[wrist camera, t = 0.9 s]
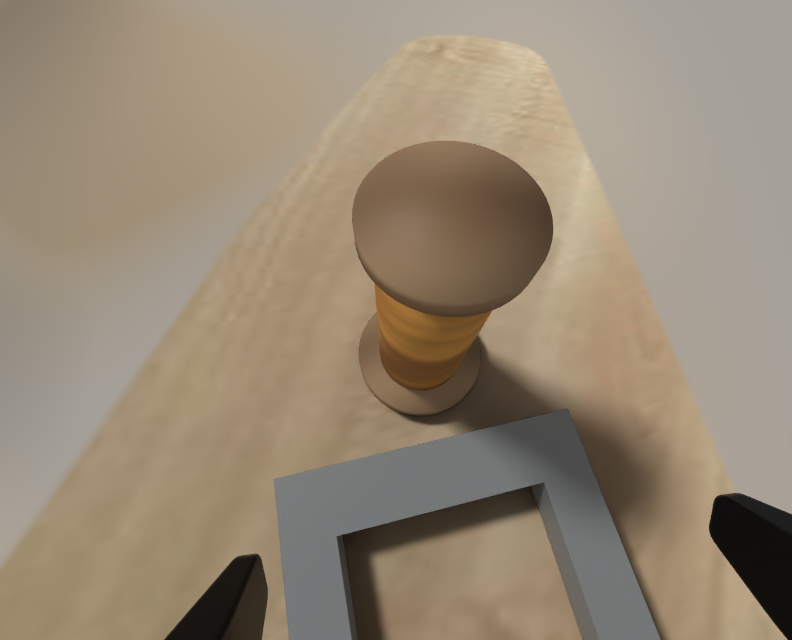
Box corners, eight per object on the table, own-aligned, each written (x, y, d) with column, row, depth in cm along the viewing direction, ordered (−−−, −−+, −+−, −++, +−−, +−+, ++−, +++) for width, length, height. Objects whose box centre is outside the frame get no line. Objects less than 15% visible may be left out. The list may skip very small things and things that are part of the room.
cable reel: (493, 400, 22) (623, 299, 10) (372, 428, 21) (351, 357, 9) (458, 293, 24) (525, 110, 12) (350, 315, 23) (310, 142, 12)
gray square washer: (703, 810, 15) (747, 855, 13) (333, 949, 14) (325, 1022, 12) (552, 415, 21) (567, 408, 19) (284, 479, 20) (273, 479, 18)
